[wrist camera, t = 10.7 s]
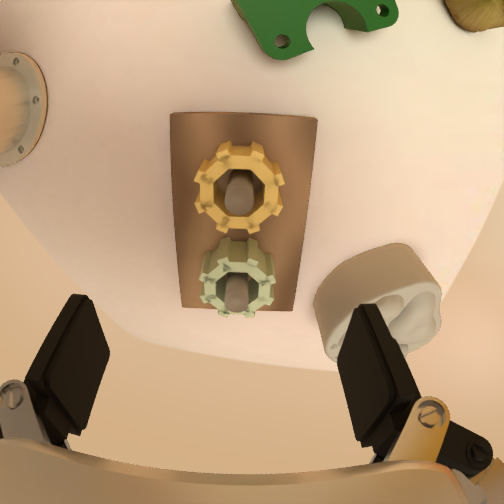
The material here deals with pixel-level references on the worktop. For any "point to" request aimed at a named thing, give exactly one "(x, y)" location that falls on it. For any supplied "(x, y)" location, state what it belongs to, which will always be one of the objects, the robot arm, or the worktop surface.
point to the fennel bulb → (477, 13)
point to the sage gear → (237, 260)
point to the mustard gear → (214, 198)
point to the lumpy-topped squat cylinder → (380, 297)
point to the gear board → (273, 228)
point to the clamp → (295, 17)
